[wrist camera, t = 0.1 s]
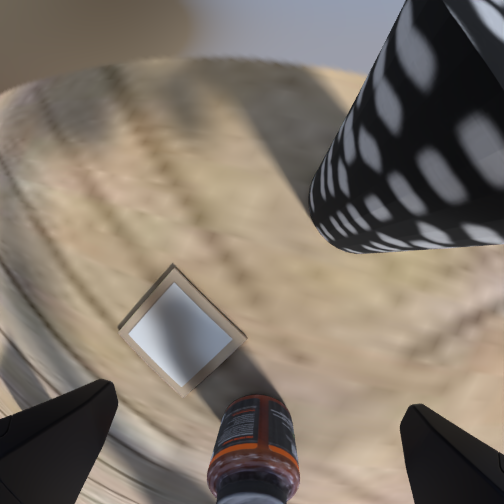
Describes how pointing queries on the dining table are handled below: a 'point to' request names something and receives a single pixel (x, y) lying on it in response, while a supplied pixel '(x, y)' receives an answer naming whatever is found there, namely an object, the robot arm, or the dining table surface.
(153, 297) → the coaster
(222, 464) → the supplement bottle
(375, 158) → the spotted tube
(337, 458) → the dining table surface
